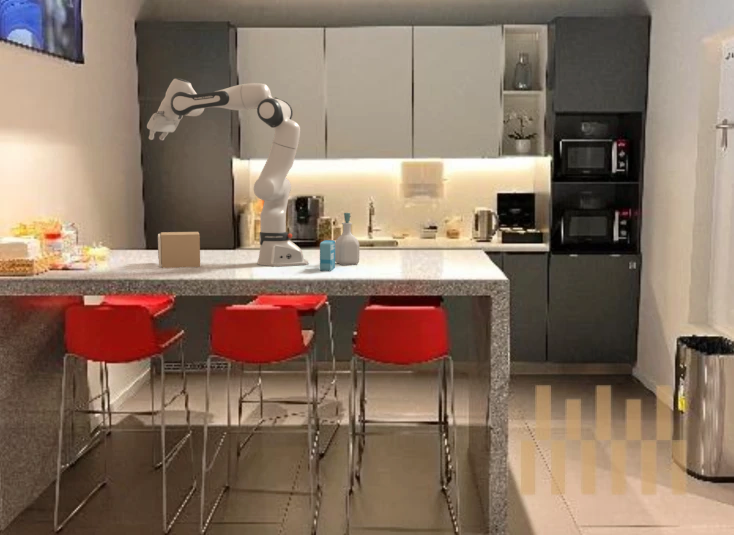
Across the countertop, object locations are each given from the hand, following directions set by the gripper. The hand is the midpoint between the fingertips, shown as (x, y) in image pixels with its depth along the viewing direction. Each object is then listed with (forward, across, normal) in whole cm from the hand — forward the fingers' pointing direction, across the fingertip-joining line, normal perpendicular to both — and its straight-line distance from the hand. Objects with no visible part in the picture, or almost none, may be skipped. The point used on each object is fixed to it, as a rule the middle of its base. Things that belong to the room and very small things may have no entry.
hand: (155, 139), depth 367 cm
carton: (+38, -17, -44) cm, 60 cm away
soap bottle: (+6, +10, -102) cm, 103 cm away
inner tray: (+39, -16, -41) cm, 59 cm away
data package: (+8, -9, -100) cm, 101 cm away
